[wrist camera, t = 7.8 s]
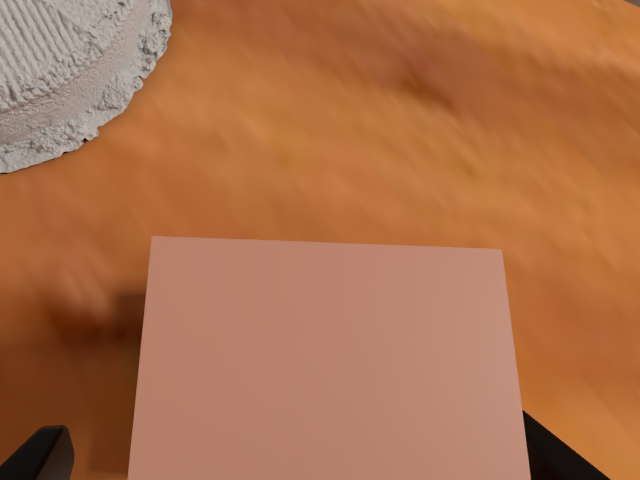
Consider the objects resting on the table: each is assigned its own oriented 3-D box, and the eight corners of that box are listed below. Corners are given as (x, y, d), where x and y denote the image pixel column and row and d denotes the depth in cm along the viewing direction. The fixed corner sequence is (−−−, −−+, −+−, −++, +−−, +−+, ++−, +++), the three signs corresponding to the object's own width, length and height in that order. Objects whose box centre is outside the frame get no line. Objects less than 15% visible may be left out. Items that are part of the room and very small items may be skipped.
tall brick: (336, 447, 16) (553, 656, 5) (204, 453, 16) (102, 723, 4) (334, 317, 18) (501, 249, 6) (212, 317, 17) (151, 236, 5)
